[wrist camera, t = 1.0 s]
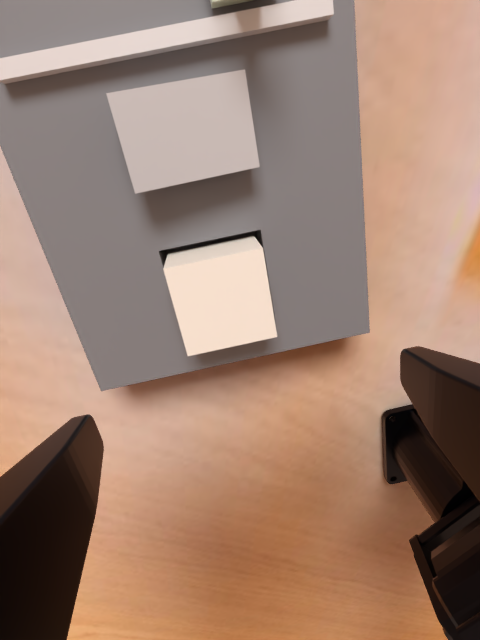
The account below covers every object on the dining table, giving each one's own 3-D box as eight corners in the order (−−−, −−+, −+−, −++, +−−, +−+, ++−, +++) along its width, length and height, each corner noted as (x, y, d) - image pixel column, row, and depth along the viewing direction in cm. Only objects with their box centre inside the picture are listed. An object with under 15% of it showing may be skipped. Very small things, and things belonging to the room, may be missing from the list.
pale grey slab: (252, 167, 15) (259, 166, 14) (135, 192, 15) (135, 193, 14) (238, 75, 14) (244, 69, 13) (108, 98, 13) (106, 93, 12)
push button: (267, 314, 19) (277, 336, 16) (188, 331, 19) (187, 356, 16) (253, 235, 17) (263, 248, 15) (167, 253, 17) (163, 269, 15)
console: (348, 310, 22) (374, 337, 19) (113, 361, 22) (98, 398, 18) (312, -181, 14) (349, -287, 10) (-66, -111, 13) (-151, -198, 10)
